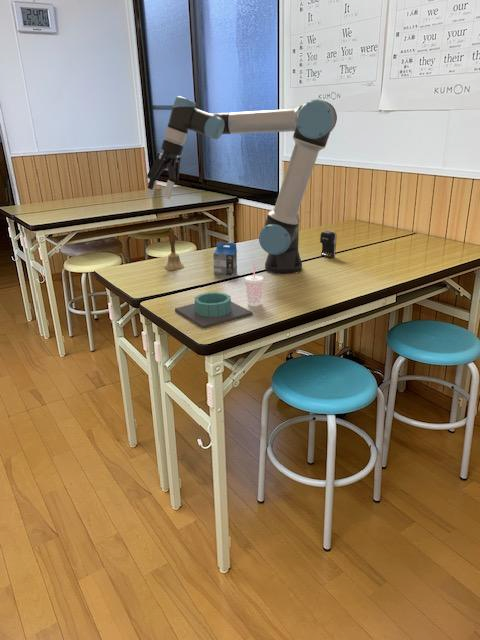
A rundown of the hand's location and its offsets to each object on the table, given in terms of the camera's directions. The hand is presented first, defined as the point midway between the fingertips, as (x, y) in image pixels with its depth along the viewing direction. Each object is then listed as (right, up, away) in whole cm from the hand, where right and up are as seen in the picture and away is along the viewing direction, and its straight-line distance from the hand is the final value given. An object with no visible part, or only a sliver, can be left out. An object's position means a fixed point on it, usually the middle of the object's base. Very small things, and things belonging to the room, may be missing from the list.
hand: (157, 197), depth 187 cm
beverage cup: (+36, -41, -23) cm, 59 cm away
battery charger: (+70, -19, +31) cm, 79 cm away
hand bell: (+4, -25, +20) cm, 32 cm away
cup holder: (+23, -44, -30) cm, 58 cm away
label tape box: (+26, -28, +10) cm, 39 cm away
